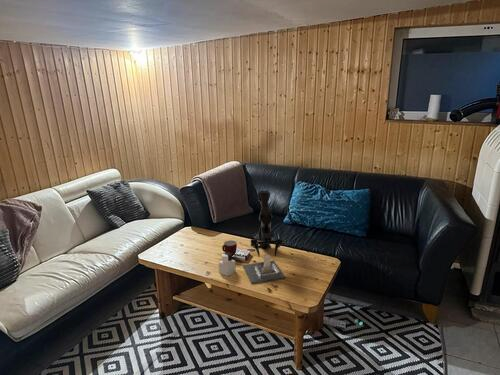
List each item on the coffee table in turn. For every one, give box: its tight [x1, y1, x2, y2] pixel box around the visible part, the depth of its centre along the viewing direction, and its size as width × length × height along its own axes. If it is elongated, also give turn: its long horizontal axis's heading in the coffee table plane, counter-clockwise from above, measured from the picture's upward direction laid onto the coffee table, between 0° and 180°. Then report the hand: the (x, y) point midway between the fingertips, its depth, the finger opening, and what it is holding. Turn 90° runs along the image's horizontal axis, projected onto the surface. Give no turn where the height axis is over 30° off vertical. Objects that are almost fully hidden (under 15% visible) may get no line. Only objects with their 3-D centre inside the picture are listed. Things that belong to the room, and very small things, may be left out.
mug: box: [221, 239, 238, 256], centre depth 209 cm, size 10×8×10 cm
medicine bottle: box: [218, 252, 237, 277], centre depth 191 cm, size 7×7×12 cm
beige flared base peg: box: [261, 253, 273, 274], centre depth 190 cm, size 7×7×10 cm
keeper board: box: [242, 260, 287, 285], centre depth 191 cm, size 20×20×2 cm
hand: (267, 256), depth 189 cm, fingers open, 9 cm apart
